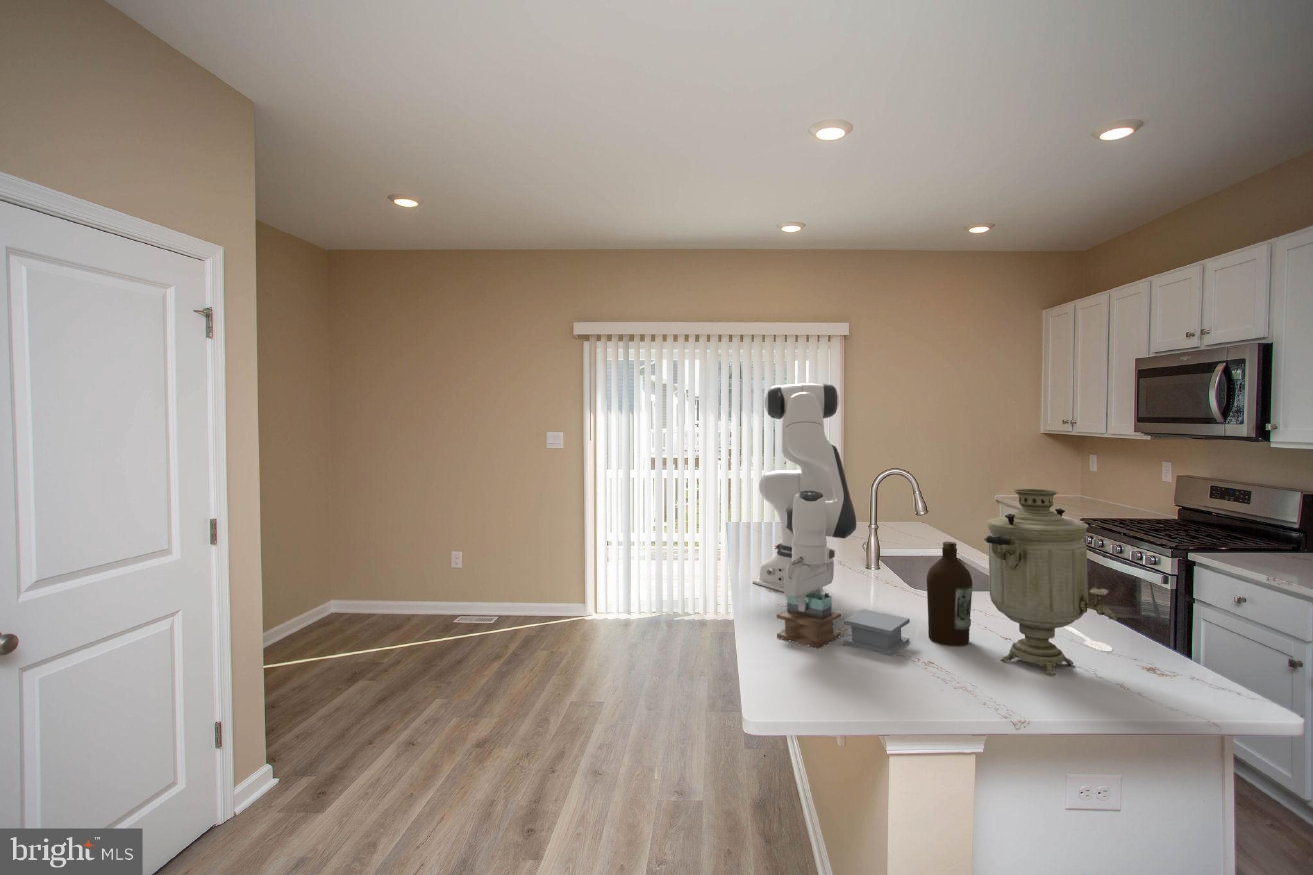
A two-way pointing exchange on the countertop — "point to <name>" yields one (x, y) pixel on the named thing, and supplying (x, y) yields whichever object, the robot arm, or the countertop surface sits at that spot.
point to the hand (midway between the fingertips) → (809, 607)
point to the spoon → (1090, 641)
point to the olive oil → (949, 599)
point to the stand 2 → (876, 631)
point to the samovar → (1039, 575)
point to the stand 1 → (808, 629)
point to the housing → (812, 606)
